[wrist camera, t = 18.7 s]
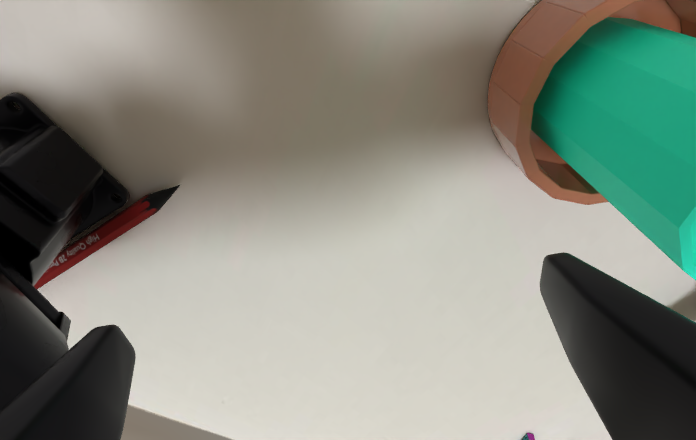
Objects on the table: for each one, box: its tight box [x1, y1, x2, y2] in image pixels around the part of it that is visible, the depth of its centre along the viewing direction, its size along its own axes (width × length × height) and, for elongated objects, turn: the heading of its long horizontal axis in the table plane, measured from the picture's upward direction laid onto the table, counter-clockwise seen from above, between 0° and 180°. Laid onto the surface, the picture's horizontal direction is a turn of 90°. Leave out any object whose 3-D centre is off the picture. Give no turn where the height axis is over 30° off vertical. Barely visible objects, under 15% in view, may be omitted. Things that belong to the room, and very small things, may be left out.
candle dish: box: [488, 0, 696, 205], centre depth 19 cm, size 9×9×4 cm
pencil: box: [34, 185, 180, 289], centre depth 23 cm, size 1×14×1 cm, turn 122°
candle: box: [531, 17, 696, 280], centre depth 15 cm, size 6×6×12 cm
